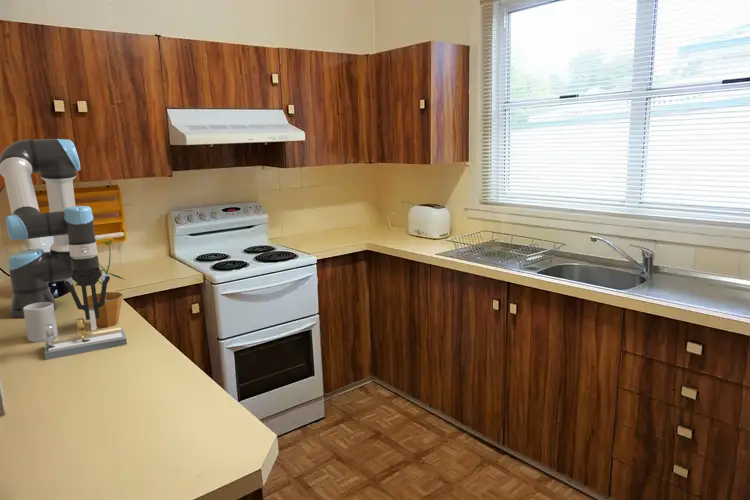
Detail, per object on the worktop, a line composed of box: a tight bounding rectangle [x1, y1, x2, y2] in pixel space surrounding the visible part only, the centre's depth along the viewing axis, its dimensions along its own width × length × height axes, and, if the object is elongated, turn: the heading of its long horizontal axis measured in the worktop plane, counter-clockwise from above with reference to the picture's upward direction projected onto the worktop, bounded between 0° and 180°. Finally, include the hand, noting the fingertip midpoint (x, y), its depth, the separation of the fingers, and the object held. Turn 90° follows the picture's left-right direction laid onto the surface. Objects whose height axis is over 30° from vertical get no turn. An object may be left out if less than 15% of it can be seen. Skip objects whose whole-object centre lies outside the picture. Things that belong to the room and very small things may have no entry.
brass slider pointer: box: [75, 317, 87, 341], centre depth 168 cm, size 8×2×5 cm, turn 30°
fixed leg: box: [45, 324, 56, 347], centre depth 164 cm, size 8×2×5 cm, turn 30°
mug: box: [23, 302, 59, 343], centre depth 178 cm, size 12×8×11 cm
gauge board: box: [44, 327, 128, 360], centre depth 169 cm, size 12×22×3 cm, turn 120°
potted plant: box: [74, 237, 126, 329], centre depth 186 cm, size 18×19×30 cm
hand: (94, 328), depth 171 cm, fingers closed
